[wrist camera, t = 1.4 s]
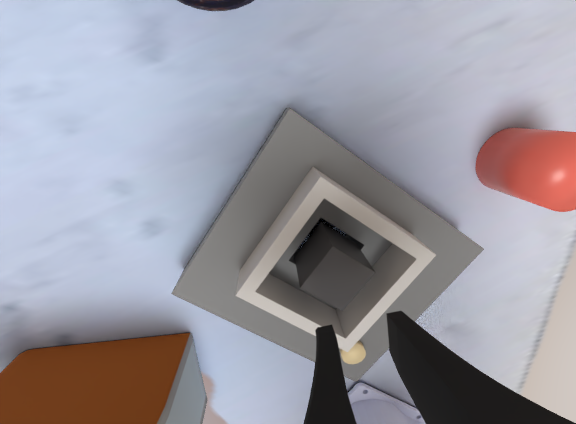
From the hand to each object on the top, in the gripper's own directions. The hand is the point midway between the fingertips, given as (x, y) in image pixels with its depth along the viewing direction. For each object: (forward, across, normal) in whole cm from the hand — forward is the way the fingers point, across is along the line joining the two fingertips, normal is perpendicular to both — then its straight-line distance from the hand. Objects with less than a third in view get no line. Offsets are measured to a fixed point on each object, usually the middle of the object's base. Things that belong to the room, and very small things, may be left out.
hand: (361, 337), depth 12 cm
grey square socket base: (+10, 0, +1) cm, 10 cm away
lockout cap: (+10, -14, -3) cm, 18 cm away
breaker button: (+8, 0, 0) cm, 8 cm away
